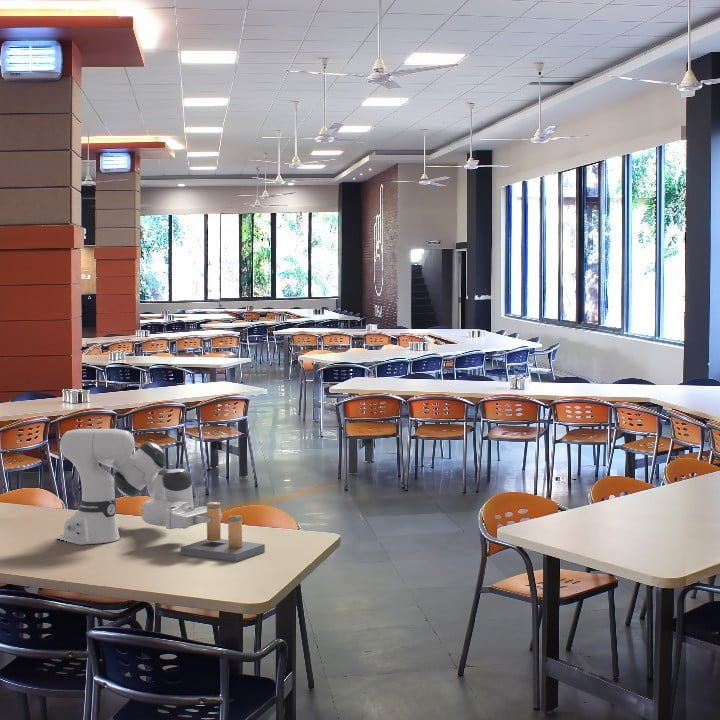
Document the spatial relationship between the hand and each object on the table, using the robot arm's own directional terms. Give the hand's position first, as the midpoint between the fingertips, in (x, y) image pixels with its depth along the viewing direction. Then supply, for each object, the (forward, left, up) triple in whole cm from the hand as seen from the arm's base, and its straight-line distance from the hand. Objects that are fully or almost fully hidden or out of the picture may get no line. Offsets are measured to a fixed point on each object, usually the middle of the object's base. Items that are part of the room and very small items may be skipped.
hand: (215, 518), depth 327 cm
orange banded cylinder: (-1, 0, -7) cm, 7 cm away
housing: (+3, 0, -11) cm, 11 cm away
